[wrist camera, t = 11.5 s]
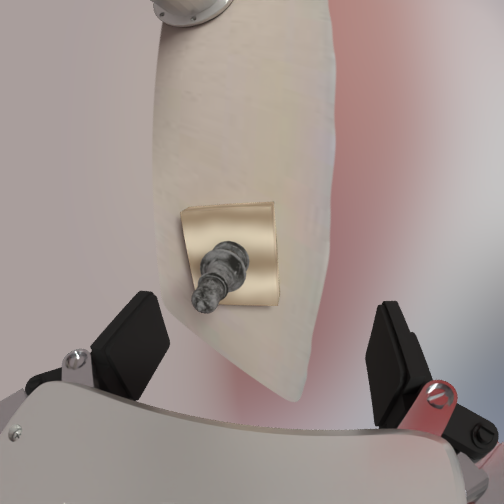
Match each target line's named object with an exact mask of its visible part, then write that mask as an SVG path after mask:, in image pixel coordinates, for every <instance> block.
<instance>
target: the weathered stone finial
mask: <svg viewBox="0 0 504 504" xmlns="http://www.w3.org/2000/svg"><path fill="white" fill-rule="evenodd" d="M249 262H250V261H249V256H248V253H247V251H246V250H245V249H244V247H242V246H241V245H240V244H238V243H236V242H232V241H224V242H221V243H219V244H217V245H216V246H215V247H214V248H213V250H212V251H209V252H208V253H207V254H205V256H204V257H203V258H202V260H201V263H200V272H201V277H200V278H199V280H198V287H197V288H196V290H195V291H194V293H193V295H192V300H191V301H192V304H193V306H194V308H195V309H196V310H197V311H198V312H201V313H211V312H213V311H214V310H215V309H216V308H217V306H218V304H219V302H220V301H221V300H223V299H224V298H225V297H226V296H227V294H228V292H232V291H235V290H237V289H239V288H240V287H241V286H242V285H243V284H244V281H245V279H246V271H247V269H248V267H249Z"/></svg>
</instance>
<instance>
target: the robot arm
mask: <svg viewBox="0 0 504 504" xmlns="http://www.w3.org/2000/svg"><path fill="white" fill-rule="evenodd" d="M151 1H152V2H154V4H153V7H154V12H155V14H156V16H157V17H158V18H159V19H160V20H161V21H163V22H164V23H166V24H168V25H171V26H175V27H189V26H194V25H198V24H201V23H204V22H206V21H208V20H210V19H212V18H214V17H216V16H217V15H219V14H220V13H222V12H223V11H224V10H225V9H226V8H227V7H228V6H229V5H230V4H231V2H232V1H233V0H151ZM169 345H170V340H169V337H168V334H167V330H166V327H165V324H164V320H163V317H162V314H161V310H160V307H159V303H158V300H157V297H156V296H155V295H154V294H153V293H152V292H149V291H139V292H138V293H137V294H136V295H135V296H134V297H133V298H132V300H131V301H130V302H129V303H128V304H127V305H126V306H125V307H124V308H123V309H122V311H121V312H120V313H119V314H118V315H117V316H116V317H115V318H114V320H113V321H112V322H111V323H110V324H109V325H108V326H107V328H106V329H105V330H104V331H103V332H102V333H101V334H100V336H99V337H98V338H97V339H96V340H95V342H94V343H93V344H92V345H91V346H90V347H91V349H92V352H91V353H89V352H88V351H87V350H85V349H77V350H74V351H71V352H70V353H68V354H67V355H66V356H65V358H64V359H63V362H62V367H61V368H58V369H55V370H52V371H48V372H45V373H42V374H39V375H36V376H34V377H32V378H31V379H30V380H29V381H28V382H27V384H26V387H25V391H24V389H21V390H19V391H17V392H16V393H14V394H12V395H11V396H9V397H7V398H6V399H4V400H2V401H0V504H504V442H502V443H501V444H500V443H499V442H498V431H497V428H496V427H495V425H494V424H493V423H491V422H490V421H488V420H486V419H484V418H482V417H481V416H479V415H477V414H476V413H474V412H472V411H470V410H468V409H467V408H465V407H463V406H461V405H459V404H458V403H457V399H458V397H457V392H456V390H455V388H454V387H453V386H452V385H451V384H449V383H448V382H446V381H443V380H433V379H432V376H431V373H430V371H429V368H428V365H427V363H426V360H425V357H424V355H423V352H422V349H421V347H420V344H419V342H418V339H417V337H416V335H415V333H413V332H410V330H409V328H408V326H407V323H406V321H405V318H404V316H403V314H402V311H401V309H400V307H399V305H398V302H397V301H383V303H382V305H378V307H377V311H376V315H375V320H374V324H373V329H372V332H371V336H370V340H369V344H368V347H367V351H366V357H365V360H366V366H367V372H368V379H369V385H370V392H371V399H372V406H373V414H374V423H375V426H379V429H360V430H359V429H358V430H301V429H282V428H269V427H259V426H250V425H242V424H235V423H228V422H221V421H216V420H210V419H204V418H200V417H195V416H190V415H186V414H181V413H177V412H173V411H168V410H165V409H160V408H157V407H153V406H150V405H146V404H143V403H139V402H136V400H139V398H140V397H141V395H142V393H143V391H144V389H145V388H146V386H147V384H148V383H149V381H150V379H151V377H152V375H153V374H154V372H155V371H156V369H157V367H158V365H159V363H160V362H161V360H162V358H163V357H164V355H165V353H166V352H167V350H168V348H169ZM465 490H466V492H465ZM466 493H467V497H466Z"/></svg>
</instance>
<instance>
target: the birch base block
mask: <svg viewBox="0 0 504 504" xmlns="http://www.w3.org/2000/svg"><path fill="white" fill-rule="evenodd" d="M180 215H181V221H182V227H183V232H184V238H185V243H186V249H187V254H188V259H189V264H190V269H191V274H192V278H193V283H194V288H195V290H196V288H197V287H198V280H199V278H200V277H201V272H200V263H201V260H202V258H203V257H204V256H205V254H207V253H208V252H209V251H212V250H213V248H214V247H215V246H216V245H217V244H219V243H221V242H224V241H232V242H236V243H238V244H240V245H241V246H242V247H244V249H245V250H246V251H247V253H248V256H249V261H250V262H249V267H248V269H247V271H246V279H245V281H244V284H243V285H242V286H241V287H240V288H239V289H237V290H235V291H232V292H228V294H227V296H226V297H225V298H224V299H223V300H221V301H220V302H219V304H225V305H257V306H278V302H279V297H280V288H279V270H278V254H277V239H276V225H275V211H274V202H257V203H239V204H223V205H209V206H196V207H188V208H187V209H185V210H183V211H182V212H180Z"/></svg>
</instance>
